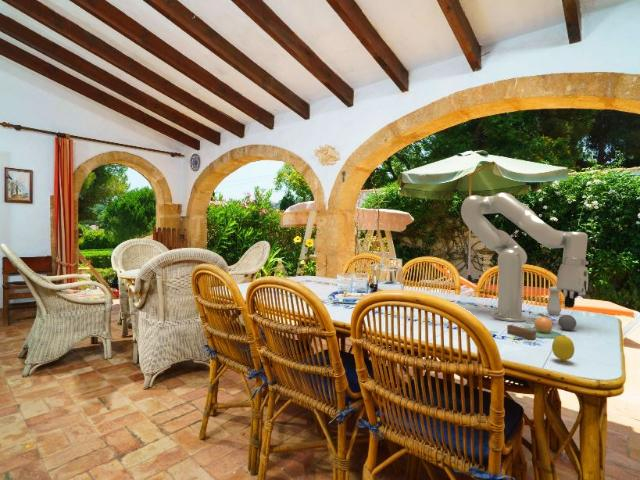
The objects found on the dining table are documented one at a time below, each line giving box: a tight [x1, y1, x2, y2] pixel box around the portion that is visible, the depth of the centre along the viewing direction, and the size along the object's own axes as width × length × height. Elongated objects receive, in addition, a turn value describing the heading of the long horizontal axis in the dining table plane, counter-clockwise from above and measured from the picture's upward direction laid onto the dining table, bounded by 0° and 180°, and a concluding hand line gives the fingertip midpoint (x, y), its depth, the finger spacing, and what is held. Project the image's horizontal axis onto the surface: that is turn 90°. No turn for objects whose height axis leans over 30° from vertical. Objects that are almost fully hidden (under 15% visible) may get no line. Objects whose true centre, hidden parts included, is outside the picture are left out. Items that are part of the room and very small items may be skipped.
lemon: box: [551, 334, 575, 362], centre depth 110 cm, size 6×6×8 cm
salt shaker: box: [546, 286, 562, 316], centre depth 174 cm, size 6×6×13 cm
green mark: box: [524, 327, 563, 339], centre depth 141 cm, size 14×14×1 cm
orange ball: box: [534, 316, 554, 333], centre depth 141 cm, size 6×6×6 cm
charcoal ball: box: [557, 314, 577, 331], centre depth 146 cm, size 6×6×6 cm
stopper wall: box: [506, 324, 537, 341], centre depth 136 cm, size 2×10×3 cm, turn 25°
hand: (569, 307), depth 150 cm, fingers closed
